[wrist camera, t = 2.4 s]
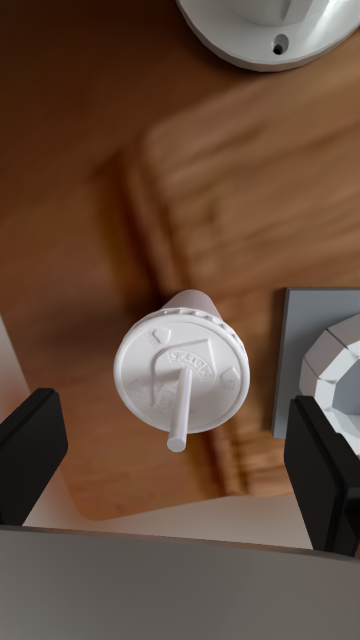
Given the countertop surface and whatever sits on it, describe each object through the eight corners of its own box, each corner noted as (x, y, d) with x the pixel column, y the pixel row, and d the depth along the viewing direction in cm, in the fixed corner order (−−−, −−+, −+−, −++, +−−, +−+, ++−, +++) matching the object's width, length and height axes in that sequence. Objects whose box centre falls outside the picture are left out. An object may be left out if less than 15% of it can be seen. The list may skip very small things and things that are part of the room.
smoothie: (249, 300, 21) (321, 438, 8) (203, 363, 23) (199, 552, 10) (177, 255, 20) (122, 322, 7) (136, 323, 22) (37, 471, 9)
